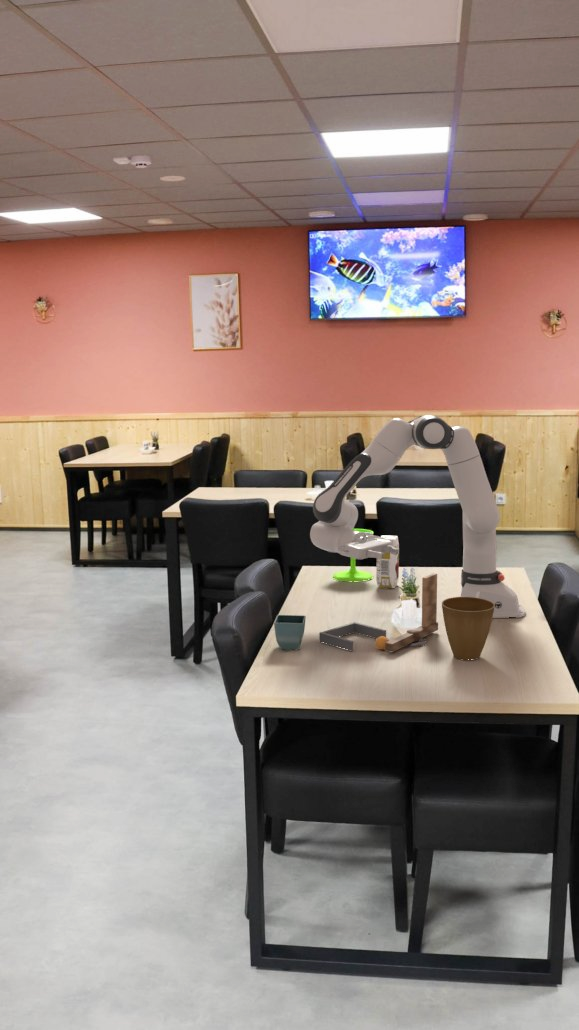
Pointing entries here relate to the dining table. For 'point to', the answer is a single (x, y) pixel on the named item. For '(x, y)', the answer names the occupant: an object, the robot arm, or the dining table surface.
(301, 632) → the flower pot
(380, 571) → the juice carton
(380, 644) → the ball
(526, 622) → the dining table surface
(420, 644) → the pivot base
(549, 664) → the dining table surface
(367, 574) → the wineglass
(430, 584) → the lever
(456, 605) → the plant pot
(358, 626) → the corral
